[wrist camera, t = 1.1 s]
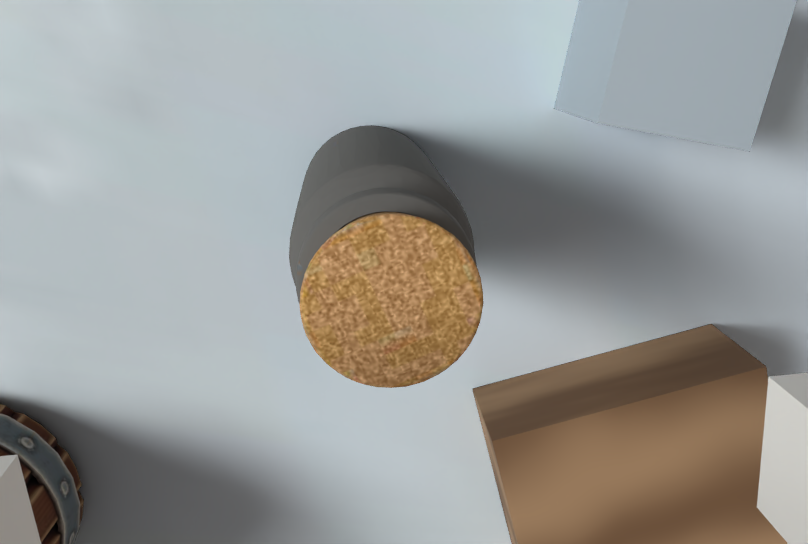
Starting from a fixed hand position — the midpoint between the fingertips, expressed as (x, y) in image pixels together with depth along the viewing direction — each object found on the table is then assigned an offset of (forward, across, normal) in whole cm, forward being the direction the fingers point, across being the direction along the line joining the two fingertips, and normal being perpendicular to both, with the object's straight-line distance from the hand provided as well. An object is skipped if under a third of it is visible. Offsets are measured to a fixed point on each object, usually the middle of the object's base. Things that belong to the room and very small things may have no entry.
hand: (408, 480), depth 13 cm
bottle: (+22, 0, +1) cm, 22 cm away
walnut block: (+21, +11, -14) cm, 28 cm away
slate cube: (+22, +12, +6) cm, 26 cm away
